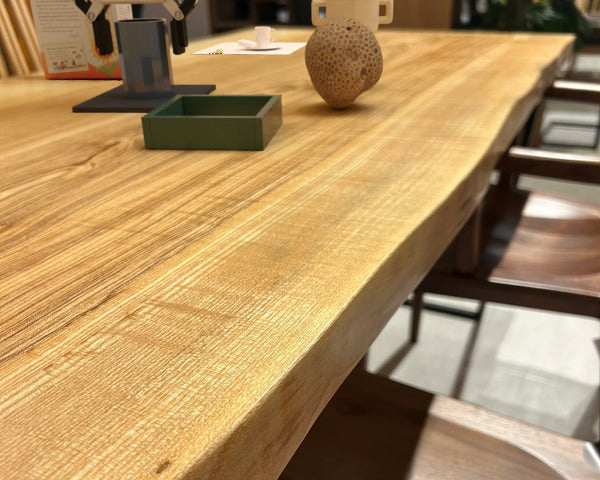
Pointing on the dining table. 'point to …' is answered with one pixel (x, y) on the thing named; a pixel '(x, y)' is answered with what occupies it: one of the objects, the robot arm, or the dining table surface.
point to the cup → (144, 58)
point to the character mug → (354, 11)
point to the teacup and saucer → (255, 45)
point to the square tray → (213, 122)
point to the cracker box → (74, 40)
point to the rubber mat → (135, 100)
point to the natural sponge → (343, 61)
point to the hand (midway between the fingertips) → (143, 53)
